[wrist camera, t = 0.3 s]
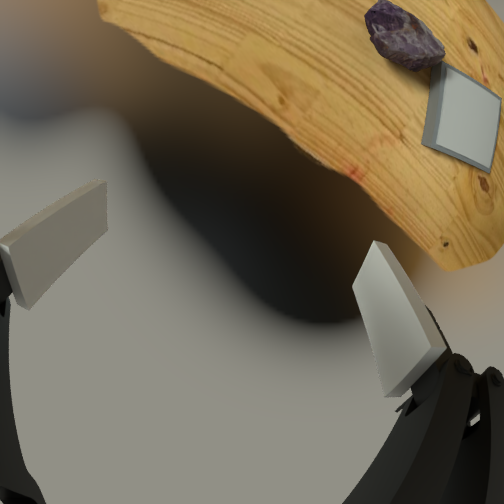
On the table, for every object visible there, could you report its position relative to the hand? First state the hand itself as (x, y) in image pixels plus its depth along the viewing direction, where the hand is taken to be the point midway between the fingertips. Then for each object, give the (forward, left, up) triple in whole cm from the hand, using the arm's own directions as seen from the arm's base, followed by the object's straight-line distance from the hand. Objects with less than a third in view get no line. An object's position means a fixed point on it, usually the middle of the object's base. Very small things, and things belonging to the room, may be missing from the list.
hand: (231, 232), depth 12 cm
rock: (-20, +17, -27) cm, 38 cm away
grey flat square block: (-13, +31, -27) cm, 43 cm away
